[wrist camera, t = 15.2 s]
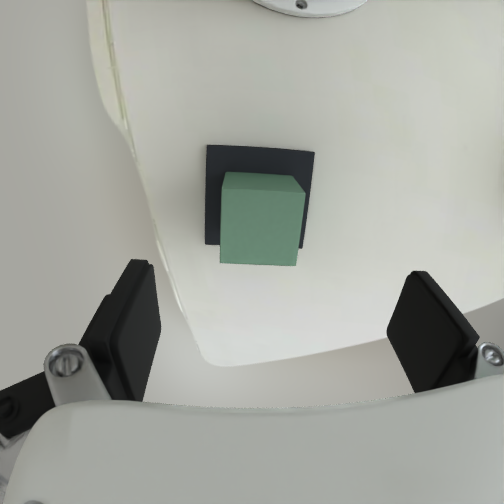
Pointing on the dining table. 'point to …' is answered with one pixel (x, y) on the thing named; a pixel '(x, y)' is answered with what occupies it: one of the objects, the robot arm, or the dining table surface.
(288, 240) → the top block
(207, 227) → the mat
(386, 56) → the dining table surface
